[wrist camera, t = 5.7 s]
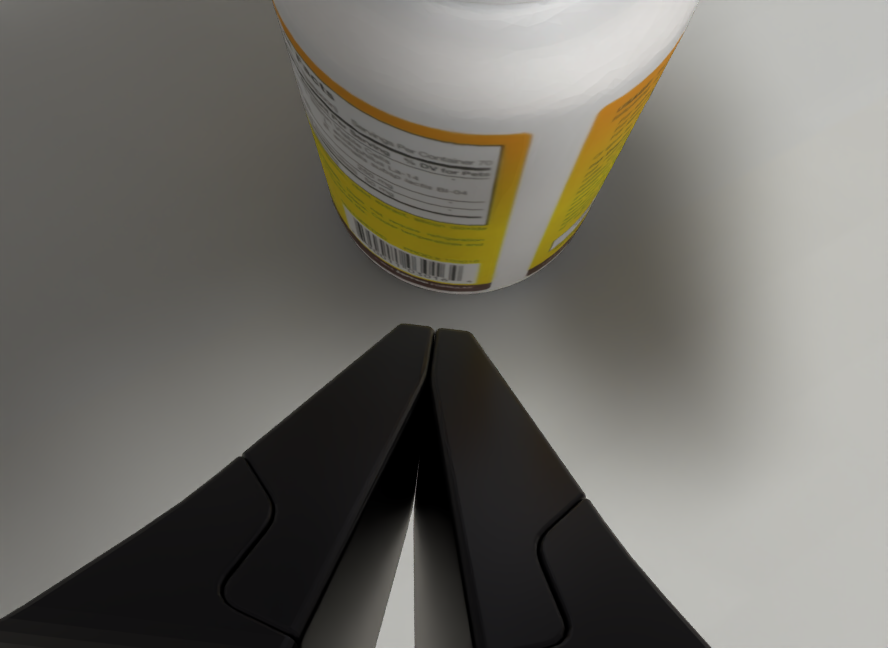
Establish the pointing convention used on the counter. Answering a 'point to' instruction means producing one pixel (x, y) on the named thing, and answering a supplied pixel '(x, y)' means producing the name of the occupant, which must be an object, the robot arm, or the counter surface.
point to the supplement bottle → (473, 122)
